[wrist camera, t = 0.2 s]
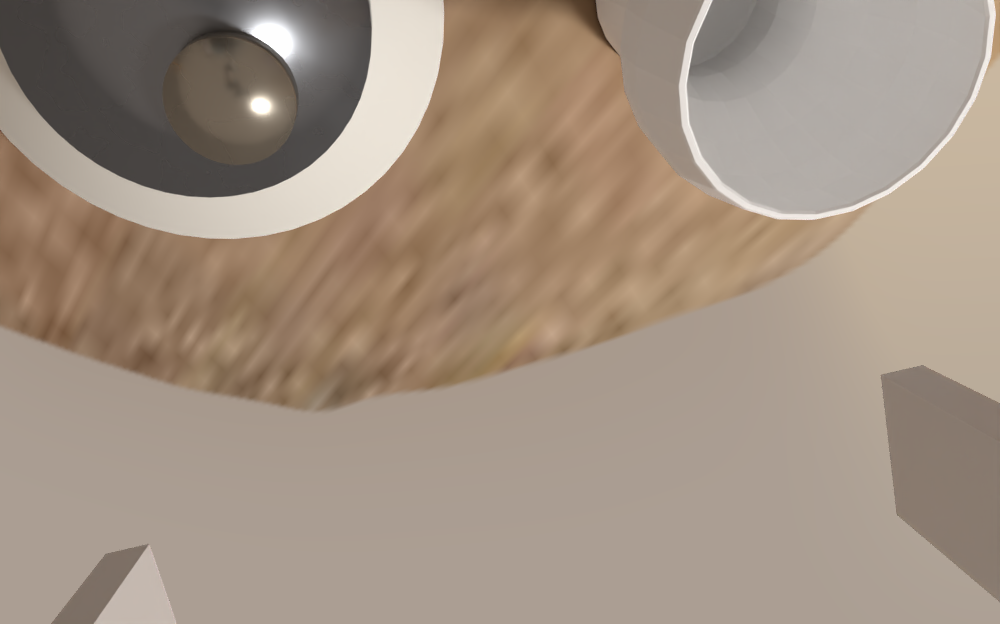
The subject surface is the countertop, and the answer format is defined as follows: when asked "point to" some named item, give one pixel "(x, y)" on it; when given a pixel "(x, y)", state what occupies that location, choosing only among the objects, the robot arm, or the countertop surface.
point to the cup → (799, 92)
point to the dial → (192, 84)
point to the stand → (296, 201)
